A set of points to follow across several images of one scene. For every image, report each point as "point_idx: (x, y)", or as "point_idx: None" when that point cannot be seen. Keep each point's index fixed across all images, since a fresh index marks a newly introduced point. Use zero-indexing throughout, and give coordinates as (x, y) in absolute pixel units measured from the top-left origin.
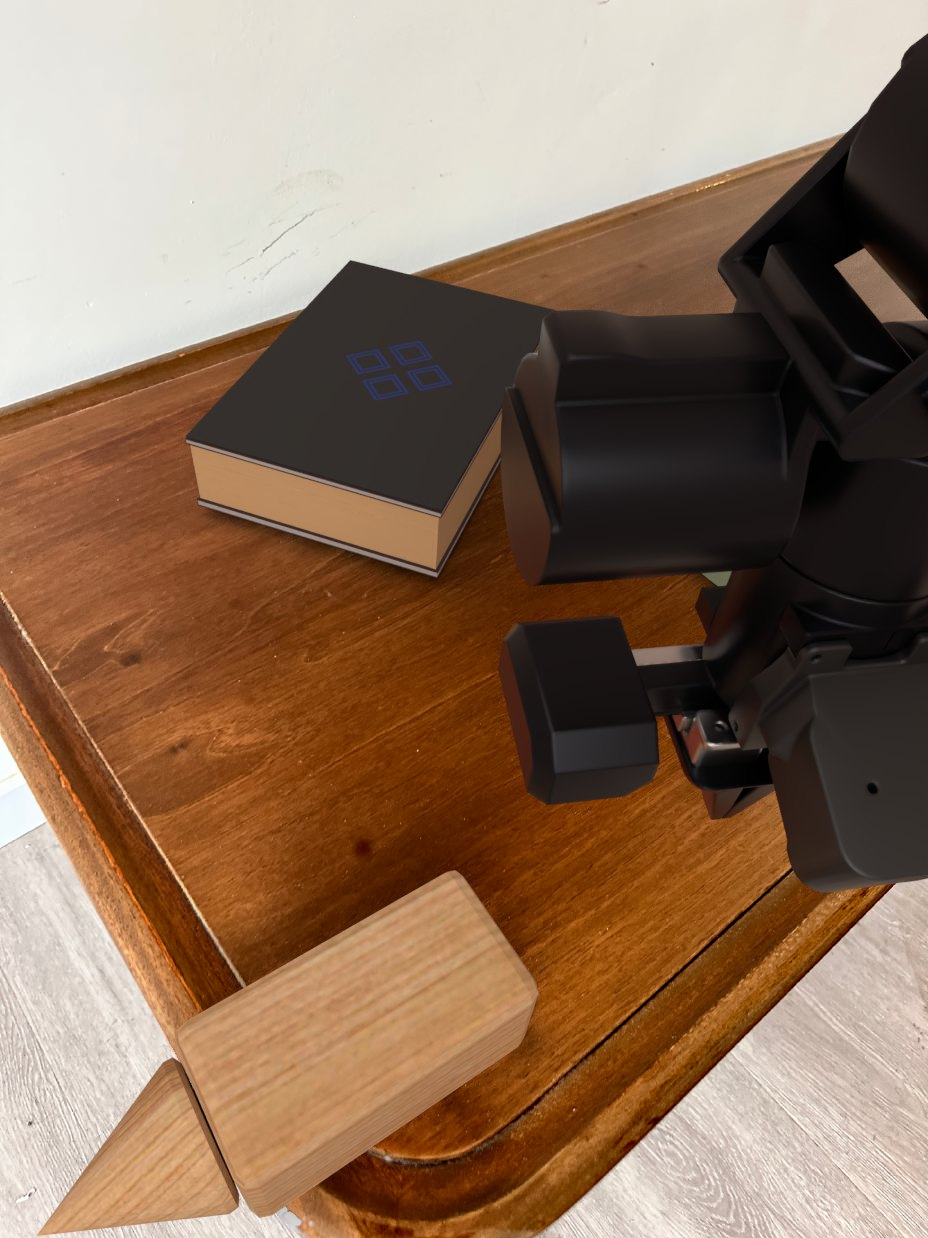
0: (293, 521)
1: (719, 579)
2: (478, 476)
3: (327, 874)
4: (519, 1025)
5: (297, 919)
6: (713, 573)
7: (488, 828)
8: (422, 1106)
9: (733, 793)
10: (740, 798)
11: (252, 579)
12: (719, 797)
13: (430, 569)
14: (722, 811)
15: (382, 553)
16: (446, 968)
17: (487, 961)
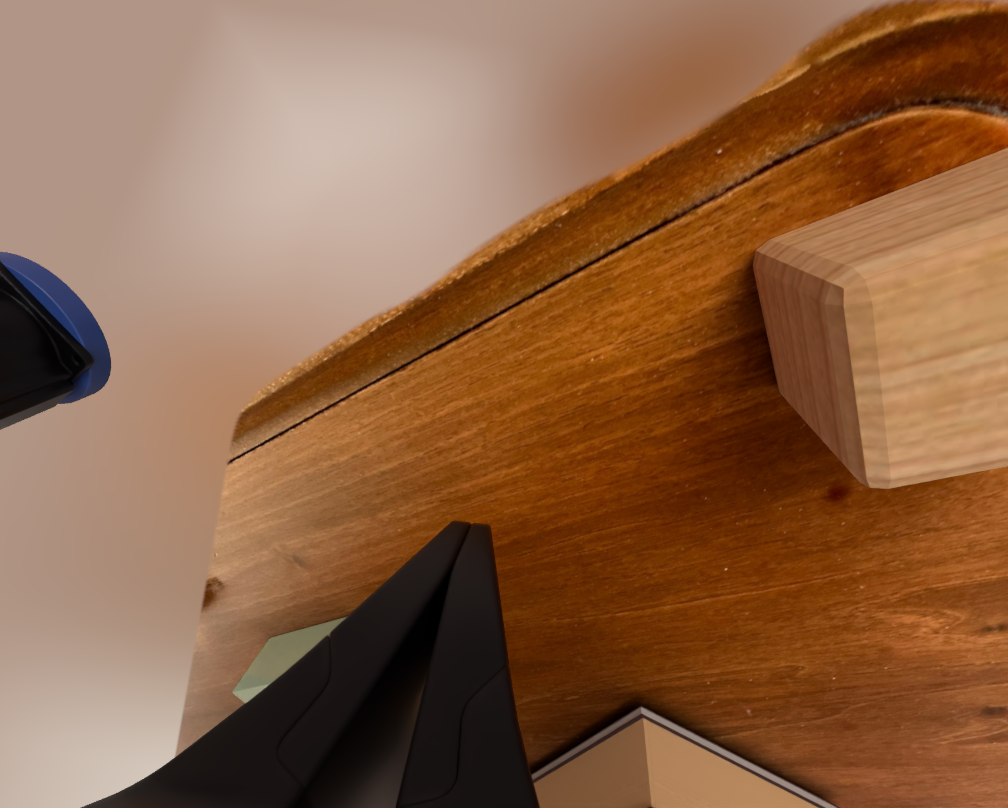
0: (770, 790)
1: None
2: (575, 785)
3: None
4: (829, 249)
5: None
6: None
7: (683, 484)
8: (976, 168)
9: (455, 651)
10: (433, 598)
11: (820, 740)
12: (492, 638)
13: (648, 718)
14: (473, 555)
15: (689, 741)
16: (1004, 349)
17: (918, 348)
